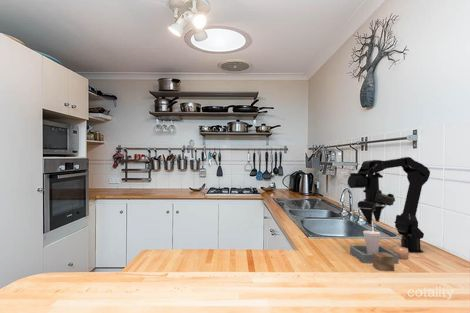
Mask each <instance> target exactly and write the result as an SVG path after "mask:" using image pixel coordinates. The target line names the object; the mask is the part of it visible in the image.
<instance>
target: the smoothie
mask: <svg viewBox="0 0 470 313" xmlns="http://www.w3.org/2000/svg"><path fill="white" fill-rule="evenodd" d="M362 232H363V233H362V235H363V237H364V241H365V246H366V248H367V254H372V253H378V249H379V246H380V236H381V232H379V231H375V230H374V221H373V220H372V223H371V230H363V231H362Z"/></svg>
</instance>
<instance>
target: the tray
mask: <svg viewBox="0 0 470 313" xmlns="http://www.w3.org/2000/svg"><path fill="white" fill-rule="evenodd" d="M378 253H387V254H389V255H391V256H393V257H394V265H395V264H397V265H398V264H400V262H399V261H400V259H398V255H397V254H395V253H394V251H392V250H389V249H387V248H385V247H383V246H381V245H379V249H378ZM349 254H351V255H353V257H354V258H356V259H357V260H359V261H360V262H362V263H363V264H373V256H372V254H367V248H366V245H349Z"/></svg>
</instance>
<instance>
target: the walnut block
mask: <svg viewBox="0 0 470 313" xmlns="http://www.w3.org/2000/svg"><path fill="white" fill-rule="evenodd" d="M372 256H373V263H372V267H373V268H375V269H376V270H378V271H380V272H395V264H394V257H393V256H391V255H389V254H387V253H372Z"/></svg>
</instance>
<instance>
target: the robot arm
mask: <svg viewBox="0 0 470 313" xmlns="http://www.w3.org/2000/svg"><path fill="white" fill-rule="evenodd" d="M398 167H399V168H400V167H401V168H402V170H403V172H404V173H405V174H406V178H407V181H408V188H407V193H406V197H405V201H404V206H403V210H402V213H401V214H396V216H395V221H394V224H395V225H394V227H395V229H396V231H397V233H398V235H400V236H401V238H400V247H405V248H408V253H424V250H422V249H421V239H424V235H425V234H424V232H423V231H422V230H421V228H419V221H418V218H417V211H418V207H419V204H420V202H419V201H420V198H421V192H422V188H423V186H424V185H425V184H426V183H427V182H428V181H429V178H430V175H431V170H430V169H429V168H428V167H427V166H425V165H424V164H423V163H421V162H419V161H416V160H415V159H414V158H412V157H409V156H404V157H400V158H394V159H392V158H391V159H387V160H381V159H379V160H378V159H372V160H364V161H362V164H361V166H360V168H359V170H358V171H357V172H350V173H349V176H348V179H347V186H348V187H349V188H350V189H363V193H364V197H365V198H364V199H363V200H359V201H358V202H357V208H359V210H360V212H361V214H362V215H363V217H364V218H365V220H366V222H367V224H368V225H372V221H373V217H374V219H375V222H380V218H381V214H382V211H383V210H384V209H385V208H386V207H387V206H389V207H391V206H394V202H395V201H396V197H395V195H394V193H388V194H384V193H383V191H382V190H381V189H380V180H379V179H380V178H384V176H383V175H382V174H380V172H382V171H384V170H386V169H393V168H398Z"/></svg>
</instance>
